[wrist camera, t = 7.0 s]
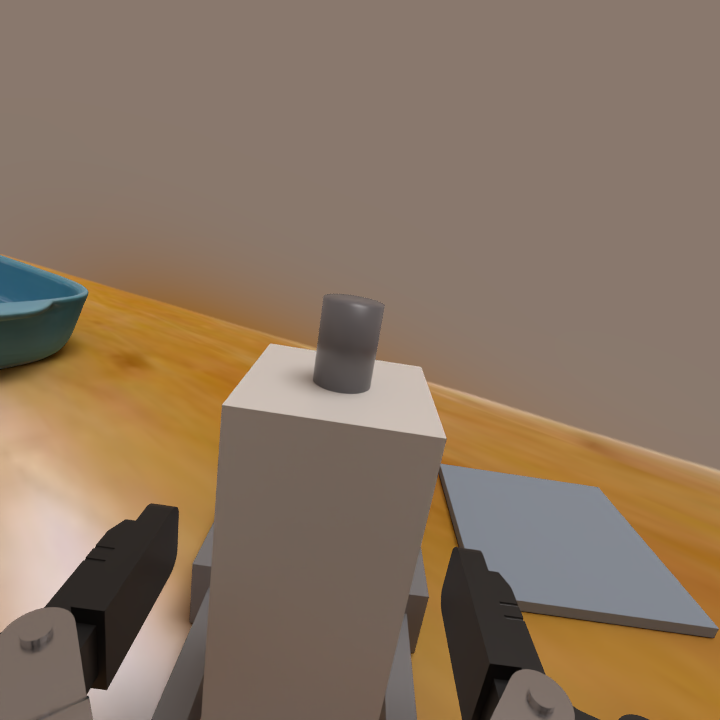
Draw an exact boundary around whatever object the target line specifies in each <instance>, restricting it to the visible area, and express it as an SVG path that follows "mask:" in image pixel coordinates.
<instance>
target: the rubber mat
mask: <svg viewBox="0 0 720 720" xmlns="http://www.w3.org/2000/svg"><path fill="white" fill-rule="evenodd" d="M439 475H440V479H441V483H442V486H443V490H444V493H445V497H446V501H447V504H448V508H449V511H450V515H451V519H452V522H453V526H454V530H455V533H456V537H457V540H458V544H459V547H460V548H467V549H474V550H480V551H481V552H482V553H483V556H484V559H485V562H486V564H487V567H488V570H489V571H495V572H499V573H500V574H501V576H502V577H503V578H504V579H505V580H506V582H507V583H508V584H509V585H510V587H511V588H512V591H513V593H514V596H515V598H516V601H517V603H518V607H519V608H520V611H525V612H532V613H539V614H546V615H554V616H561V617H568V618H575V619H582V620H589V621H596V622H604V623H611V624H618V625H625V626H632V627H639V628H646V629H654V630H661V631H668V632H675V633H682V634H689V635H696V636H704V637H711V638H714V637H715V635H716V633H717V631H718V629H719V628H718V627H717V626H716V625H715V624H714V622H713V621H712V620H711V619H710V618H709V617H708V615H707V614H706V613H705V612H704V611H703V610H702V608H701V607H700V606H699V605H698V604H697V603H696V601H695V600H694V599H693V598H692V597H691V596H690V594H689V593H688V592H687V591H686V590H685V588H684V587H683V586H682V585H681V584H680V583H679V581H678V580H677V579H676V578H675V577H674V576H673V574H672V573H671V572H670V571H669V570H668V569H667V567H666V566H665V565H664V564H663V563H662V562H661V560H660V559H659V558H658V557H657V556H656V555H655V553H654V552H653V551H652V550H651V549H650V548H649V546H648V545H647V544H646V543H645V542H644V541H643V539H642V538H641V537H640V536H639V535H638V533H637V532H636V531H635V530H634V529H633V528H632V526H631V525H630V524H629V523H628V522H627V521H626V519H625V518H624V517H623V516H622V515H621V514H620V512H619V511H618V510H617V509H616V508H615V507H614V505H613V504H612V503H611V502H610V501H609V500H608V498H607V497H606V496H605V495H604V494H603V493H602V491H601V490H600V489H599V488H598V487H592V486H586V485H579V484H572V483H566V482H559V481H552V480H546V479H539V478H532V477H525V476H519V475H512V474H505V473H499V472H492V471H485V470H478V469H472V468H465V467H458V466H452V465H445V464H440V468H439Z"/></svg>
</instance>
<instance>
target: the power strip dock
mask: <svg viewBox="0 0 720 720" xmlns="http://www.w3.org/2000/svg"><path fill="white" fill-rule="evenodd" d="M213 534H214V523H213V525H212V527H211V529H210V531H209V533H208V535H207V537H206V539H205V541H204V543H203V545H202V547H201V549H200V550H199V552H198V554H197V556H196V558H195V560H194V562H193V566H192V586H191V605H190V623H193V625H192V627H191V629H190V632H189V634H188V636H187V639H186V641H185V643H184V646H183V648H182V650H181V653H180V655H179V657H178V659H177V662H176V664H175V666H174V669H173V671H172V673H171V676H170V678H169V680H168V683H167V685H166V687H165V689H164V692H163V694H162V696H161V699H160V701H159V703H158V706H157V708H156V710H155V713H154V715H153V717H152V719H151V720H200V718H201V712H202V697H203V682H204V668H205V653H206V638H207V623H208V608H209V593H210V578H211V564H212V549H213ZM428 598H429V596H428V589H427V583H426V577H425V570H424V564H423V558H422V552H421V547H420V551H419V555H418V559H417V564H416V568H415V572H414V576H413V580H412V584H411V588H410V593H409V597H408V601H407V605H406V609H405V613H404V618H403V622H402V626H401V630H400V634H399V638H398V642H397V647H396V651H395V655H394V659H393V663H392V667H391V672H390V676H389V680H388V684H387V688H386V692H385V696H384V701H383V705H382V709H381V713H380V717H379V720H417V716H416V705H415V695H414V685H413V674H412V664H411V653H414V652H415V648H416V644H417V640H418V637H419V633H420V629H421V625H422V621H423V617H424V613H425V609H426V606H427V602H428ZM410 652H411V653H410Z"/></svg>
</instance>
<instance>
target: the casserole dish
mask: <svg viewBox="0 0 720 720" xmlns="http://www.w3.org/2000/svg"><path fill="white" fill-rule="evenodd" d="M87 296H88V290H87V289H86V288H85V287H84V286H82V285H80V284H78V283H76V282H74V281H72V280H69V279H67V278H64V277H61V276H58V275H56V274H53V273H50V272H47V271H44V270H42V269H39V268H36V267H33V266H30V265H27V264H24V263H22V262H19V261H16V260H13V259H10V258H7V257H4V256H1V255H0V369H3V368H8V367H13V366H18V365H22V364H27V363H31V362H35V361H38V360H41V359H44V358H46V357H48V356H50V355H52V354H54V353H56V352H57V351H59V350H60V349H61V348H62V347H63V346H64V345H65V344H66V342H67V341H68V340H69V338H70V336H71V334H72V332H73V330H74V328H75V325H76V323H77V320H78V318H79V315H80V313H81V310H82V308H83V305H84V303H85V301H86V298H87Z"/></svg>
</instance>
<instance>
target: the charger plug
mask: <svg viewBox="0 0 720 720" xmlns="http://www.w3.org/2000/svg"><path fill="white" fill-rule="evenodd" d="M384 306H385V305H384V304H383V303H381V302H378V301H376V300H372V299H369V298H364V297H359V296H354V295H345V294H327V295H324V298H323V306H322V313H321V321H320V328H319V336H318V343H317V351H314V350H308V349H302V348H295V347H289V346H282V345H276V344H270V345H269V346H268V347H267V348H266V350H265V351H264V352H263V354H262V355H261V356H260V357H259V359H258V360H257V361H256V362H255V364H254V365H253V366H252V368H251V369H250V370H249V371H248V373H247V374H246V375H245V376H244V378H243V379H242V380H241V382H240V383H239V384H238V385H237V387H236V388H235V389H234V390H233V392H232V393H231V394H230V396H229V397H228V398H227V399H226V401H225V402H224V403H223V404H222V415H221V430H220V445H219V460H218V474H217V489H216V504H215V519H214V534H213V549H212V564H211V578H210V593H209V608H208V623H207V638H206V653H205V668H204V682H203V697H202V712H201V720H379V717H380V713H381V709H382V705H383V701H384V696H385V692H386V688H387V684H388V680H389V676H390V672H391V667H392V663H393V659H394V655H395V651H396V647H397V642H398V638H399V634H400V630H401V626H402V622H403V618H404V613H405V609H406V605H407V601H408V597H409V593H410V588H411V584H412V580H413V576H414V572H415V568H416V564H417V559H418V555H419V551H420V547H421V543H422V539H423V534H424V530H425V526H426V522H427V518H428V514H429V510H430V505H431V501H432V497H433V493H434V489H435V485H436V480H437V476H438V472H439V468H440V464H441V460H442V456H443V451H444V447H445V443H446V439H447V438H446V436H445V433H444V430H443V427H442V424H441V422H440V419H439V416H438V413H437V410H436V407H435V405H434V402H433V399H432V396H431V393H430V390H429V388H428V385H427V382H426V379H425V376H424V374H423V371H422V368H421V367H418V366H410V365H405V364H398V363H392V362H385V361H379V360H375V357H376V352H377V346H378V340H379V334H380V328H381V323H382V318H383V312H384Z"/></svg>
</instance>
